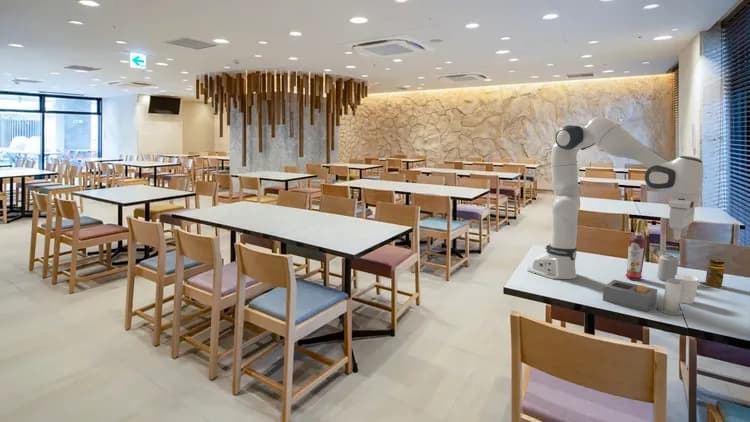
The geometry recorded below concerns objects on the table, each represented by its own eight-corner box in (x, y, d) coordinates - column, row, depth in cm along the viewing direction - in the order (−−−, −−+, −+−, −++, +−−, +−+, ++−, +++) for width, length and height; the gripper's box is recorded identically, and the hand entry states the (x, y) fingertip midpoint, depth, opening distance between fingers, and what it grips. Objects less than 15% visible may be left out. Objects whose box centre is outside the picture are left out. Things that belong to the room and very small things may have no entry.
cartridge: (661, 309, 169) (664, 279, 167) (664, 306, 172) (668, 276, 170) (676, 313, 165) (680, 282, 163) (679, 309, 169) (683, 280, 166)
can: (678, 283, 202) (682, 257, 199) (660, 281, 203) (664, 256, 201) (671, 277, 209) (674, 253, 207) (654, 276, 210) (657, 252, 208)
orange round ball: (634, 297, 175) (635, 286, 174) (636, 295, 177) (638, 284, 176) (644, 300, 172) (646, 289, 171) (647, 297, 174) (648, 287, 174)
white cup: (672, 296, 185) (675, 273, 183) (695, 300, 181) (698, 276, 179) (671, 301, 179) (674, 278, 177) (695, 306, 174) (699, 282, 172)
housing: (602, 300, 179) (604, 286, 178) (612, 293, 188) (614, 279, 187) (646, 311, 168) (648, 296, 167) (655, 303, 176) (657, 289, 175)
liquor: (644, 279, 206) (651, 220, 202) (639, 282, 202) (646, 222, 197) (627, 275, 212) (634, 218, 207) (622, 278, 207) (628, 220, 202)
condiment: (725, 289, 194) (729, 263, 192) (703, 287, 197) (706, 261, 194) (718, 284, 201) (722, 258, 199) (696, 282, 203) (700, 257, 201)
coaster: (655, 311, 169) (655, 309, 169) (660, 305, 174) (660, 304, 174) (679, 317, 163) (679, 315, 163) (684, 311, 169) (685, 310, 168)
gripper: (681, 197, 171) (676, 232, 173) (667, 202, 157) (662, 240, 159) (701, 199, 166) (696, 234, 168) (688, 204, 152) (683, 243, 154)
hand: (679, 237), depth 164 cm, fingers open, 8 cm apart
